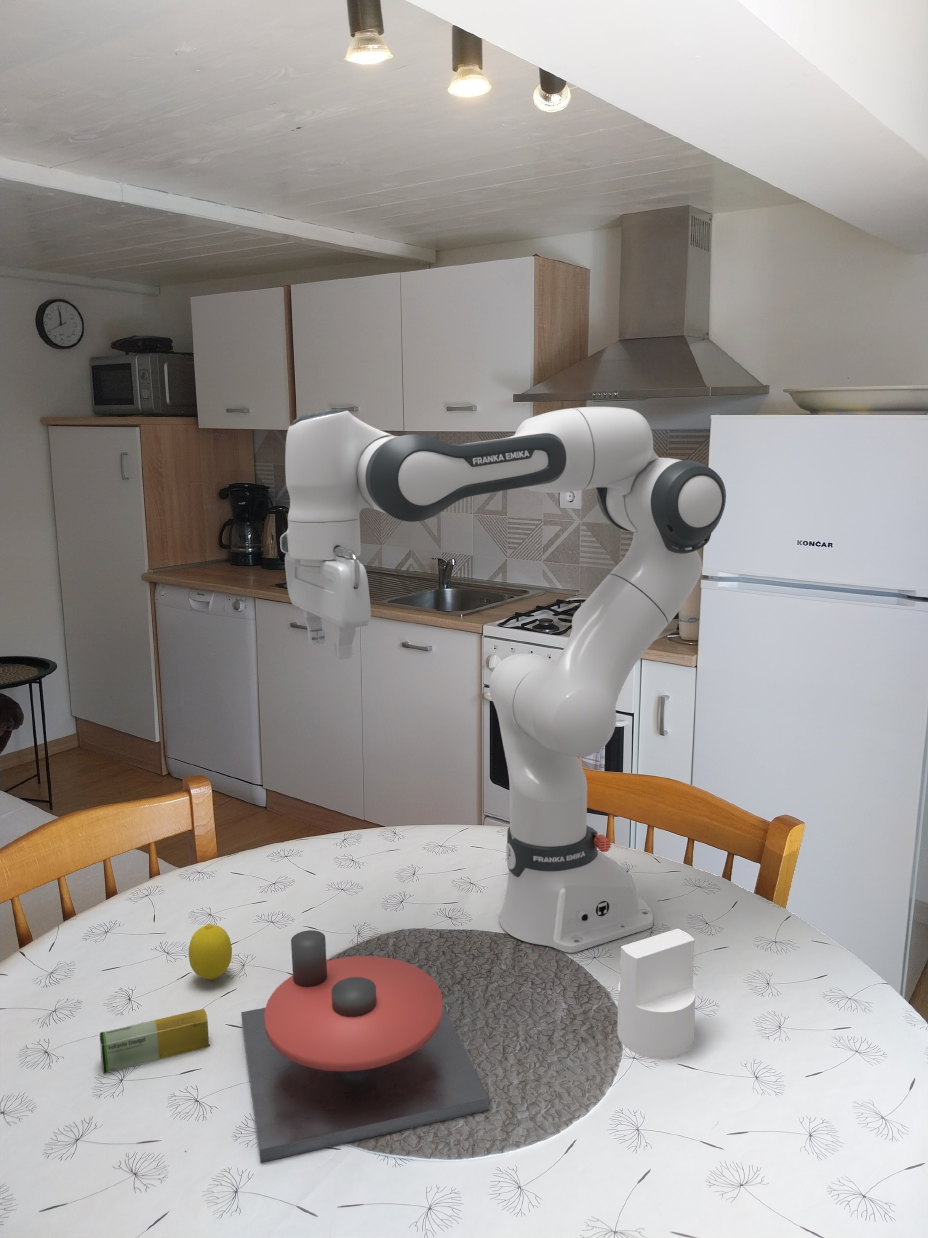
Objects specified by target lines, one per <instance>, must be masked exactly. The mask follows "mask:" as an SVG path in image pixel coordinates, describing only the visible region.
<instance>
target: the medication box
mask: <svg viewBox="0 0 928 1238" xmlns="http://www.w3.org/2000/svg"><path fill="white" fill-rule="evenodd" d="M208 1023H209V1021H208V1015H207V1011H206V1010H205V1008H200V1009H197V1010H196V1009H195V1010H191V1011H188V1012H187V1011H186V1012H183V1013H180V1014H174V1015H171V1016H166V1017H162V1018H158V1019H157V1018H156V1019H153V1020H149V1021H145V1022H141V1023H137V1024H132V1025H128V1026H124V1027H120V1028H115V1029H111V1030H105V1031H101V1032H99V1046H100V1061H101V1063H100V1064H101V1070H102V1073H103V1074H106V1073H107V1074H108V1073H110V1072H115V1071H118V1070H122V1069H125V1068H131V1067H133V1066H138V1065H139V1066H140V1065H143V1064H146V1063H151V1062H154V1061H158V1060H162V1059H165V1058H171V1057H173V1056H177V1055H181V1054H186V1053H189V1052H194V1051H197V1050H202V1049H205V1048H208V1047H210V1046H211V1044H210V1042H209V1041H210V1040H209V1024H208Z"/></svg>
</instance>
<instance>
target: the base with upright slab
mask: <svg viewBox="0 0 928 1238" xmlns="http://www.w3.org/2000/svg"><path fill="white" fill-rule="evenodd" d="M694 958H695V939H694V937H693V936H691V935H690V934H689V933H688V932H686V931H684V930H682V929H680V928H675V929H672V930H669V931H665V932H662V933H660V934H656V935H653V936H650V937H649V936H648V937H646V938H644V939H643V938H642V939H641V940H636V941H633V942H630V943H628V944H624V945H622V946H620V968H619V969H620V973H619V974H620V976H619V977H620V980H619V982H618V988H617V989H618V990H617V994H618V995H617V1029H616V1030H617V1032H616V1033H617V1035H616V1036H618V1040H619V1041H620V1043H621V1044H622V1045H623V1046H624V1047H625V1048H627V1049H628V1050H629V1051H631V1052H632V1053H634V1054H637V1055H638V1056H642V1057H643V1058H648V1059H654V1060H656V1059H657V1060H665V1059H666V1060H667V1059H669V1060H670V1059H674V1058H679V1057H681V1056H683V1055H684V1054H686V1053H688V1052H689V1051H690V1050H691V1048H693V1045H694V1043H695V1019H696V1018H695V1017H696V1016H695V1015H696V989H695V988H694V985H693V984H694V964H695V963H694V960H695V959H694Z"/></svg>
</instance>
